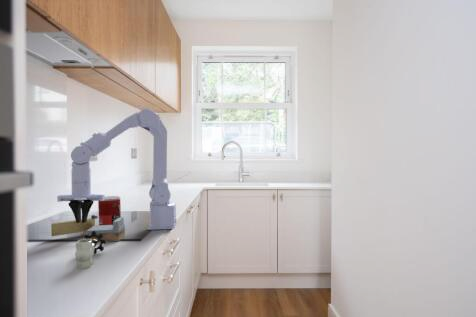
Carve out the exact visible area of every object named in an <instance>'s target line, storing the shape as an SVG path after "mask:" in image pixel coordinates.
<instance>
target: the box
mask: <svg viewBox="0 0 476 317" xmlns="http://www.w3.org/2000/svg"><path fill="white" fill-rule="evenodd" d="M96 234H97V235H99V234H100V233H96ZM103 234H104V236H103V237H102V239H103V240H104V239H106V240H107V242H106V243H108V242H120V241H121V240H122V239H123V238H124V237H125V236H124V235H126V227H125V228H123V229H122V230H121V231H120V232H119V233H103ZM91 235H92V234H89V236H91ZM123 236H124V237H123ZM122 237H123V238H122ZM90 239H92V240H94V239H95V240H98V239H99V238H97V237H91V238H90ZM98 243H100V241H99V242H98Z"/></svg>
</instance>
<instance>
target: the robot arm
mask: <svg viewBox="0 0 476 317" xmlns="http://www.w3.org/2000/svg"><path fill="white" fill-rule="evenodd" d="M138 127H140V128H142V129H144V130H146V131H147V132H149V134H151V135H152V136H153V149H152V150H153V153H152V154H153V157H152V158H153V159H152V160H153V162H152V164H153V166H152V169H153V171H152V180H151V181H152V182H151V187H150V188H149V192H148V194H149V197H150V199H151V201H150V202H149V216H150V217H149V220H150V222H149V223H150V224H149V226H148V227H147V230H148V231H149V230H151V231H152V230H174V229H175V227H176V226H177V206H176V203H173V202H170V199H171V196H172V195H171V191H170V190H169V182H168V178H167V174H168V172H167V167H168V166H167V163H168V159H167V158H168V151H167V150H168V130H167V127H166V126H165V124H164V123H163V121H162V119H161V117H160V115H159V114H158V113H157V112H155V111H154V110H153V109H152V108H143V109H141V110H140V111H137V112H135V113H133V114H131V115H129V116H126V118H124V119H123V120H122V121H120V122H119V123H117V124H116V125H115V126H114V127H111V129H109V130H108V131H106V132H97V133H96V132H94V133H93V134H92V135H91V136H92V137H90V138H89V139H88V140H86V141H85V142H83V141H82V142H81V143H79V144H80V146H79V145H78V146H75V147H74V148H73V149H72V150H71V153H70V158H71V160H72V163H71V167H72V168H71V194H60V195H57V196H56V197H57V202H59V203H60V202H68V206H69V209H70V210H71V211H72V213H73V216H74V219H75V220H76V223H79V222H81V219H82V223H85V222H87V219H88V216H89V213H90V211H91V208H92V206H93V204H94V203H95V202H96V201H97V202H98V201H104V197H105V194H94V193H93V194H92V193H91V190H92V189H91V185H92V184H91V179H92V178H91V172H92V171H91V167H90V165H91V164H90V161H91V158H92V157H96V156H98V155H99V154H101V153H103V151H105V150H106V149H108V148H109V147H111V144H112V140H113V139H115V138H117V137H118V136H119V135H121V134H123V133H124V132H125V131H128V129H131V128H132V129H133V128H138ZM94 201H95V202H94Z"/></svg>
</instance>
